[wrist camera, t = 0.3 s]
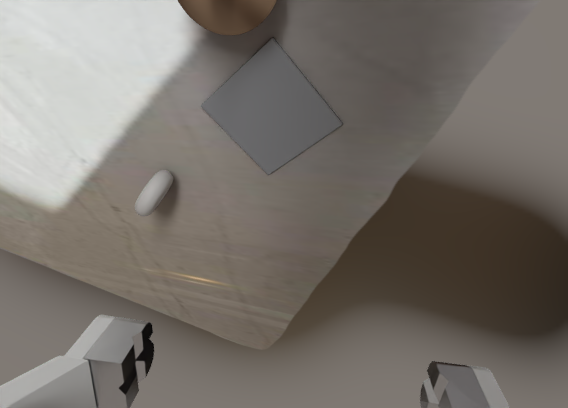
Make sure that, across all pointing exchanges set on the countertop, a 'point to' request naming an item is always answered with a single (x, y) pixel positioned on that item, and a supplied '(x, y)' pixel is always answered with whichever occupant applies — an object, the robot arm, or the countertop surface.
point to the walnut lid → (228, 14)
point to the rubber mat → (271, 109)
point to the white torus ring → (153, 193)
